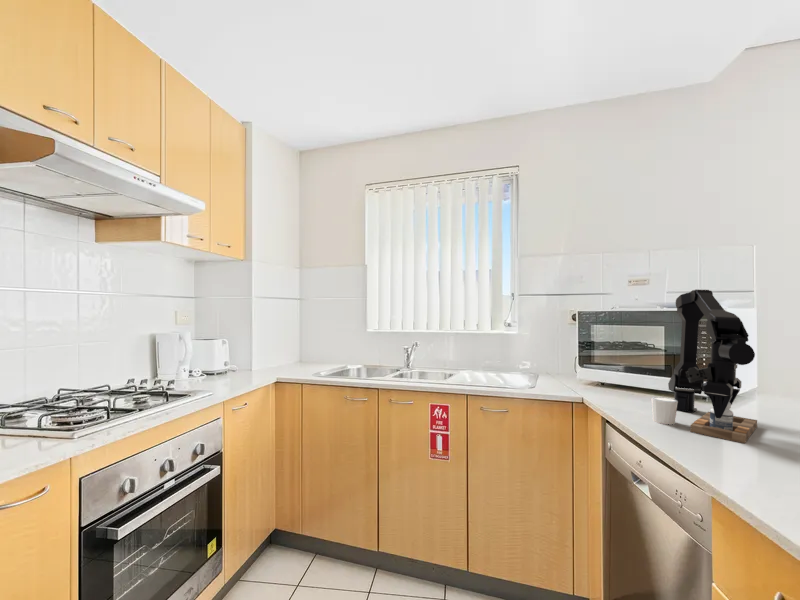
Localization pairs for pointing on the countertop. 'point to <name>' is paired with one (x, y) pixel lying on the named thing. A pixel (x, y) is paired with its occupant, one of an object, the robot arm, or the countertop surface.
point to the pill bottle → (722, 419)
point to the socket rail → (739, 433)
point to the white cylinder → (664, 410)
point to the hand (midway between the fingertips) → (721, 415)
